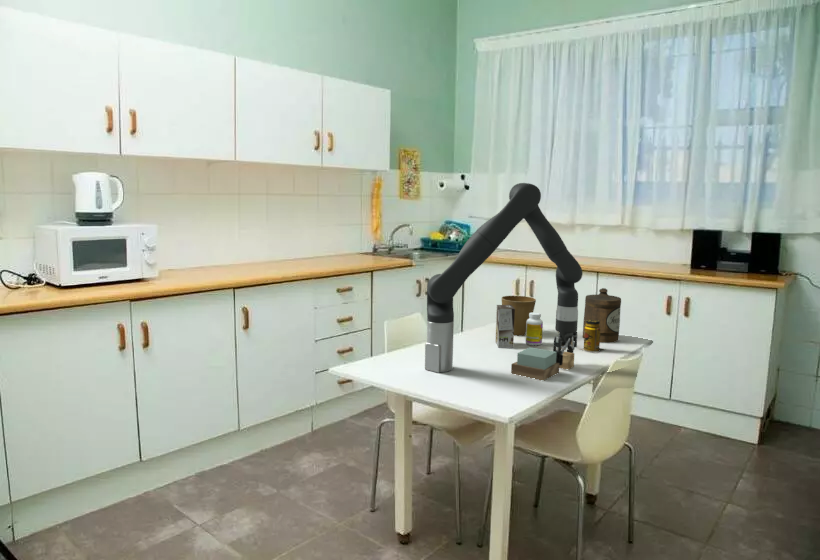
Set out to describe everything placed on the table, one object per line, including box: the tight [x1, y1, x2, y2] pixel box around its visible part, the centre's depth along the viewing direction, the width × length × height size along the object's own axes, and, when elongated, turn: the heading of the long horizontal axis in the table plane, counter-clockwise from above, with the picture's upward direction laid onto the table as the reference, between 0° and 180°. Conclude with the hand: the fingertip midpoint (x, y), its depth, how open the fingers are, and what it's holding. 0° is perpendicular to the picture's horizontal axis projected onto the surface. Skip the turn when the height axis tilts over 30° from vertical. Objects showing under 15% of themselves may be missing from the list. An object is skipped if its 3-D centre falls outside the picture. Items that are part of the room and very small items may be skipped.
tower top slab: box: [516, 346, 557, 370], centre depth 205 cm, size 10×10×4 cm
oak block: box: [559, 351, 575, 370], centre depth 214 cm, size 5×5×5 cm
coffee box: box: [495, 304, 515, 349], centre depth 242 cm, size 9×6×16 cm
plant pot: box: [501, 295, 537, 337], centre depth 262 cm, size 15×15×16 cm
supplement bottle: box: [525, 311, 544, 346], centre depth 245 cm, size 7×7×13 cm
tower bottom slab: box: [510, 361, 560, 381], centre depth 206 cm, size 12×12×4 cm
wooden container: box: [582, 287, 622, 344], centre depth 255 cm, size 15×15×22 cm
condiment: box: [579, 320, 606, 354], centre depth 237 cm, size 7×8×12 cm
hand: (564, 362), depth 214 cm, fingers open, 8 cm apart
